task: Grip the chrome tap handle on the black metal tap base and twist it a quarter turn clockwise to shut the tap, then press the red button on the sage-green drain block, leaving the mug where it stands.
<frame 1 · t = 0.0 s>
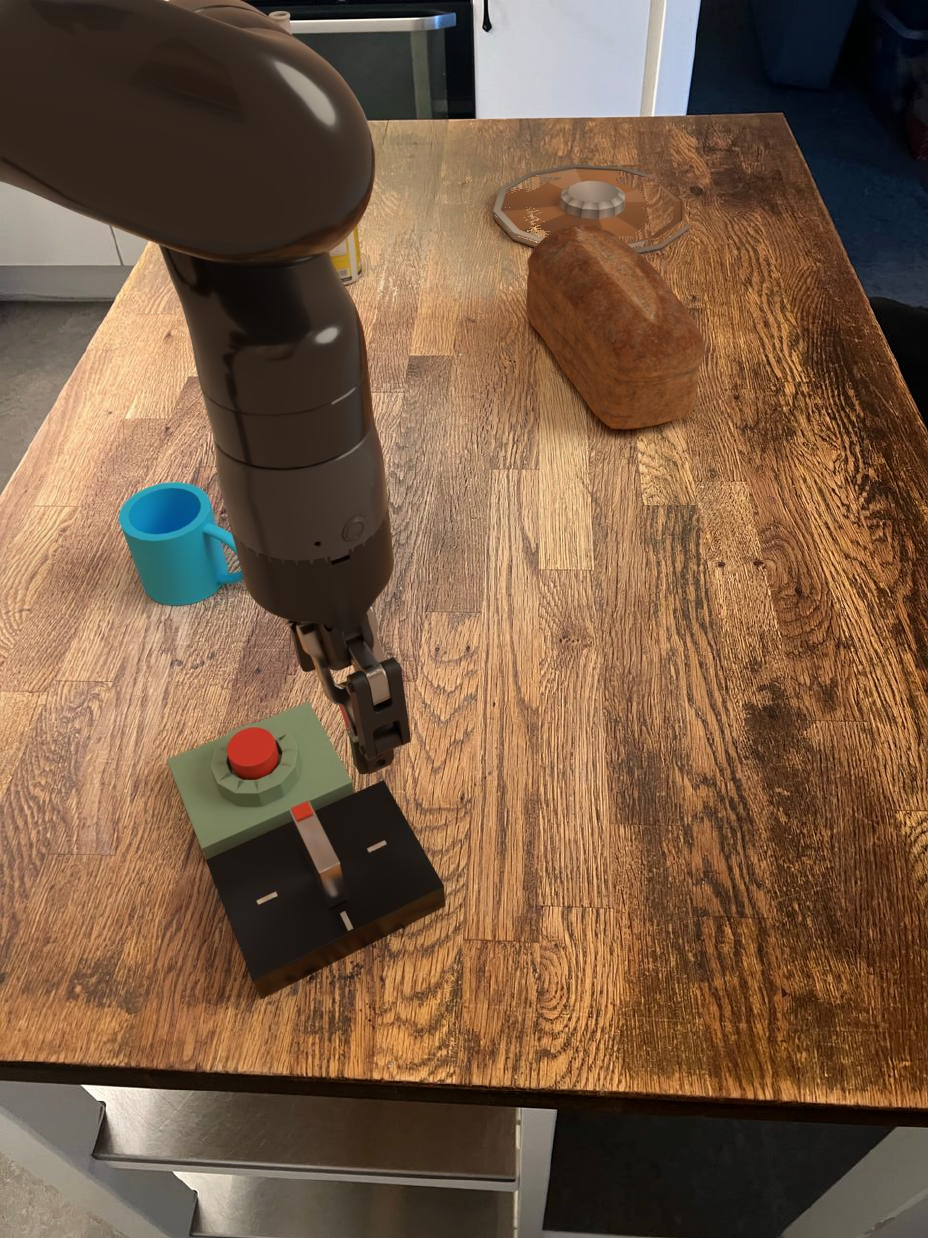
hand: (345, 712, 57), 19 cm above the kitchen island, tool pointing down, fingers open, 8 cm apart
bread: (603, 367, 116), on the kitchen island
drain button: (253, 753, 73), point 4 cm above the kitchen island, slide at 0.1 cm
mug: (203, 581, 92), on the kitchen island
pill bottle: (339, 277, 133), on the kitchen island
tap base: (328, 893, 70), on the kitchen island
shield: (591, 214, 145), on the kitchen island
bottle: (309, 229, 143), on the kitchen island
drain block: (263, 786, 76), on the kitchen island
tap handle: (318, 853, 65), point 6 cm above the kitchen island, hinge at 90.0°
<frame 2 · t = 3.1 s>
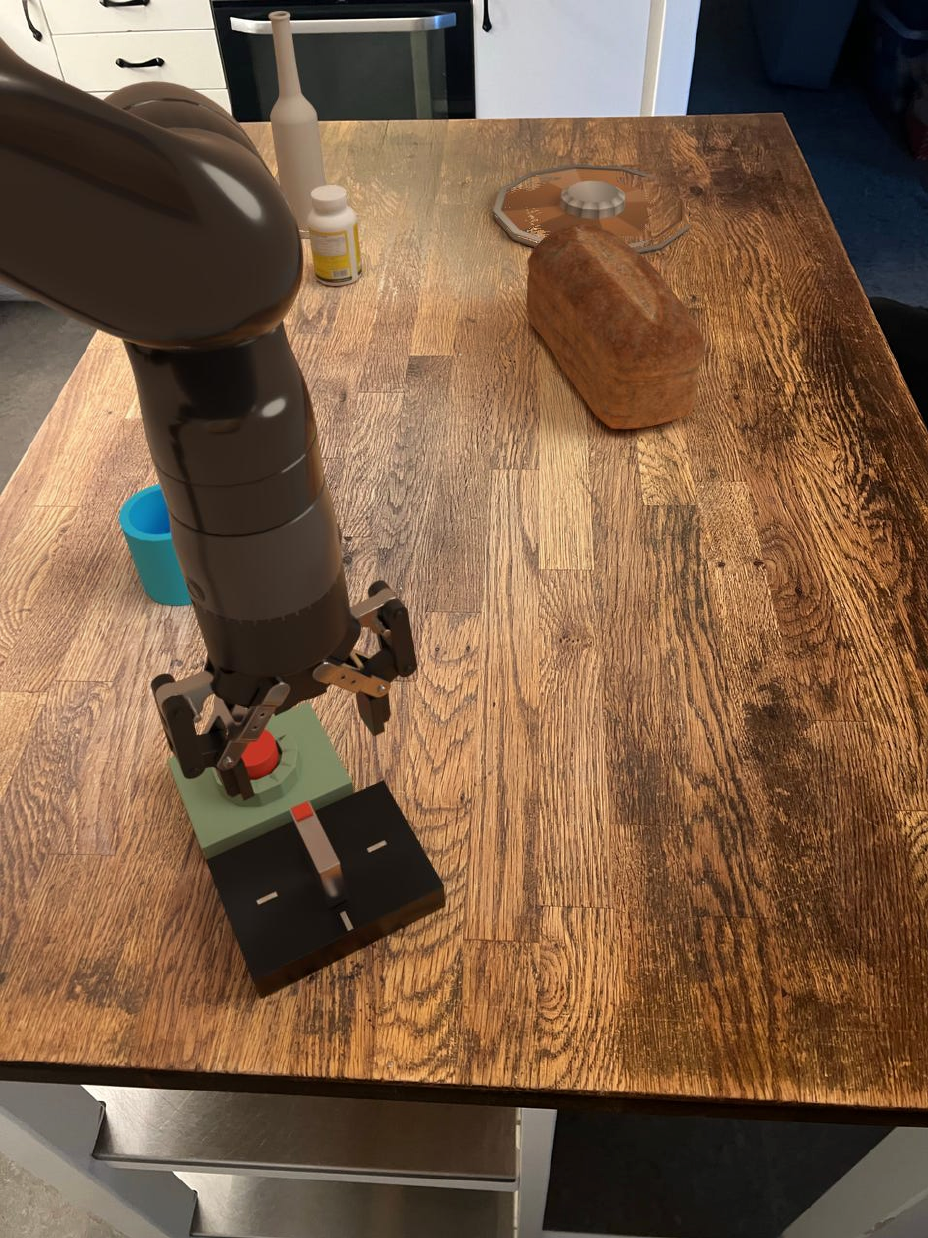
hand: (308, 755, 58), 17 cm above the kitchen island, tool pointing down, fingers open, 8 cm apart
nothing on the kitchen island moved.
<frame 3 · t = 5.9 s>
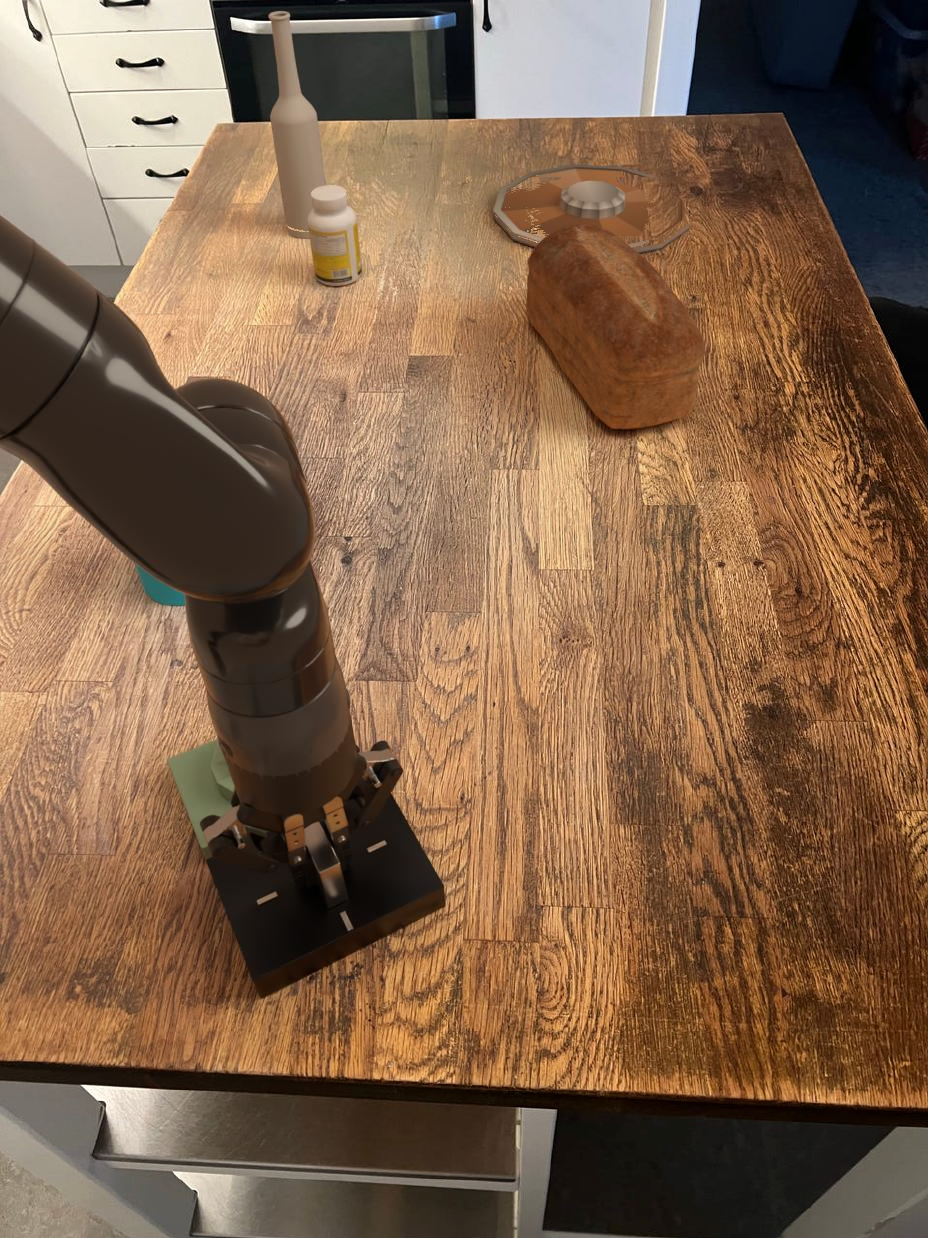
hand: (321, 868, 67), 4 cm above the kitchen island, tool pointing down, fingers closed
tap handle: (318, 853, 65), point 6 cm above the kitchen island, hinge at 90.0°, touching gripper
everything else where it was.
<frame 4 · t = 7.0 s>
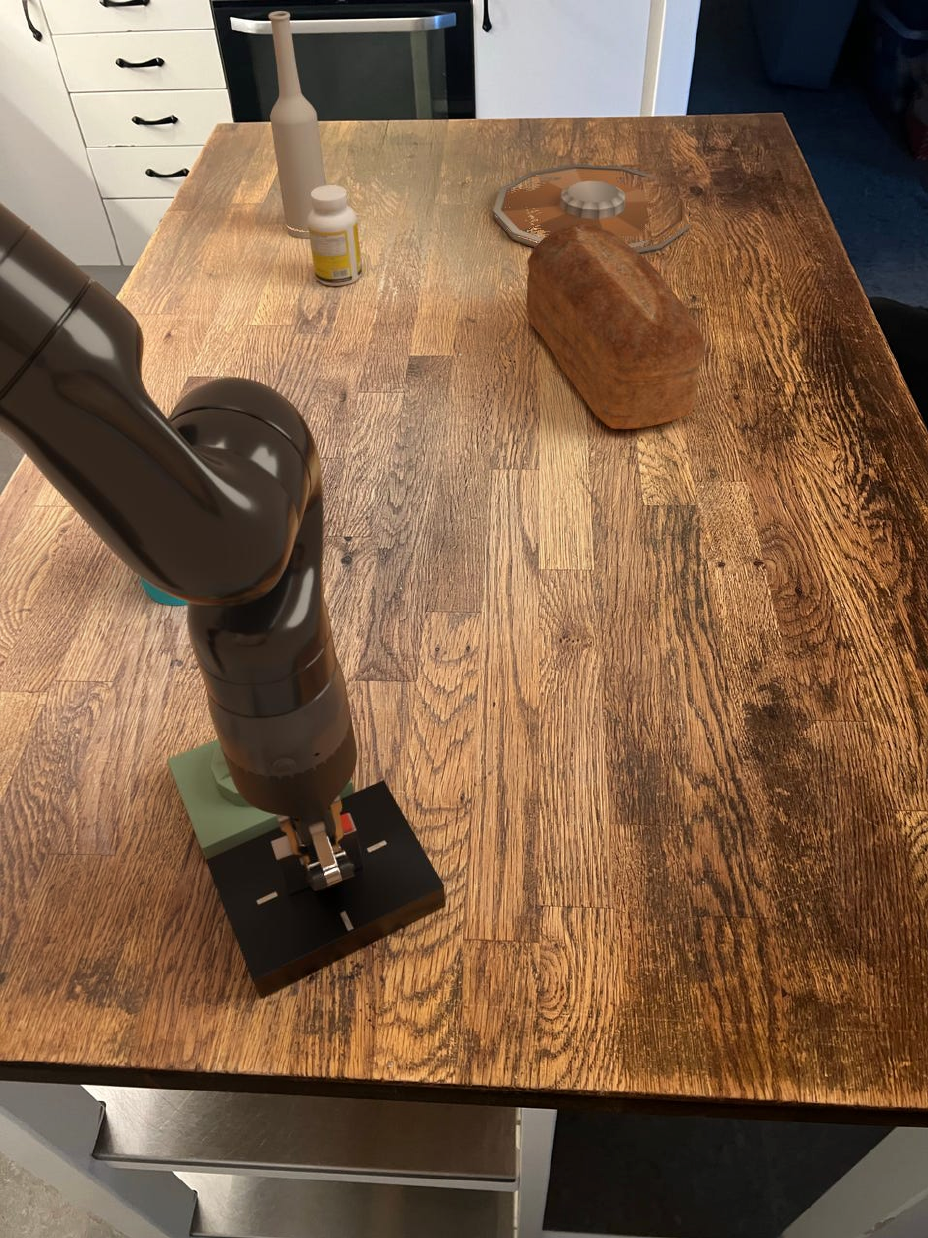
hand: (321, 867, 67), 4 cm above the kitchen island, tool pointing down, fingers closed on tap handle
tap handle: (318, 853, 65), point 6 cm above the kitchen island, hinge at -5.2°, touching gripper
everything else where it was.
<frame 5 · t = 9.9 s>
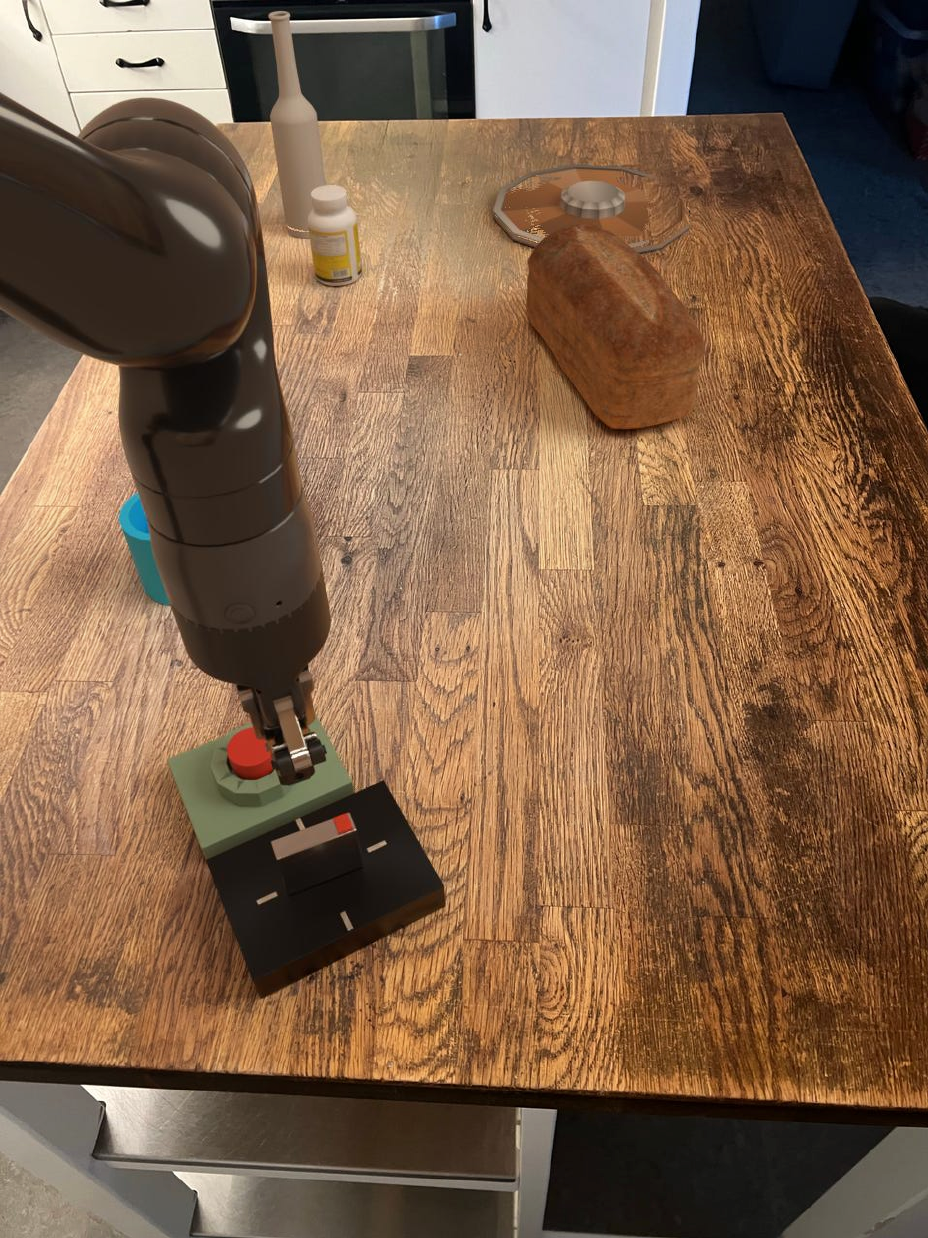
hand: (295, 771, 59), 15 cm above the kitchen island, tool pointing down, fingers closed
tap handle: (318, 853, 65), point 6 cm above the kitchen island, hinge at -4.9°
everything else where it was.
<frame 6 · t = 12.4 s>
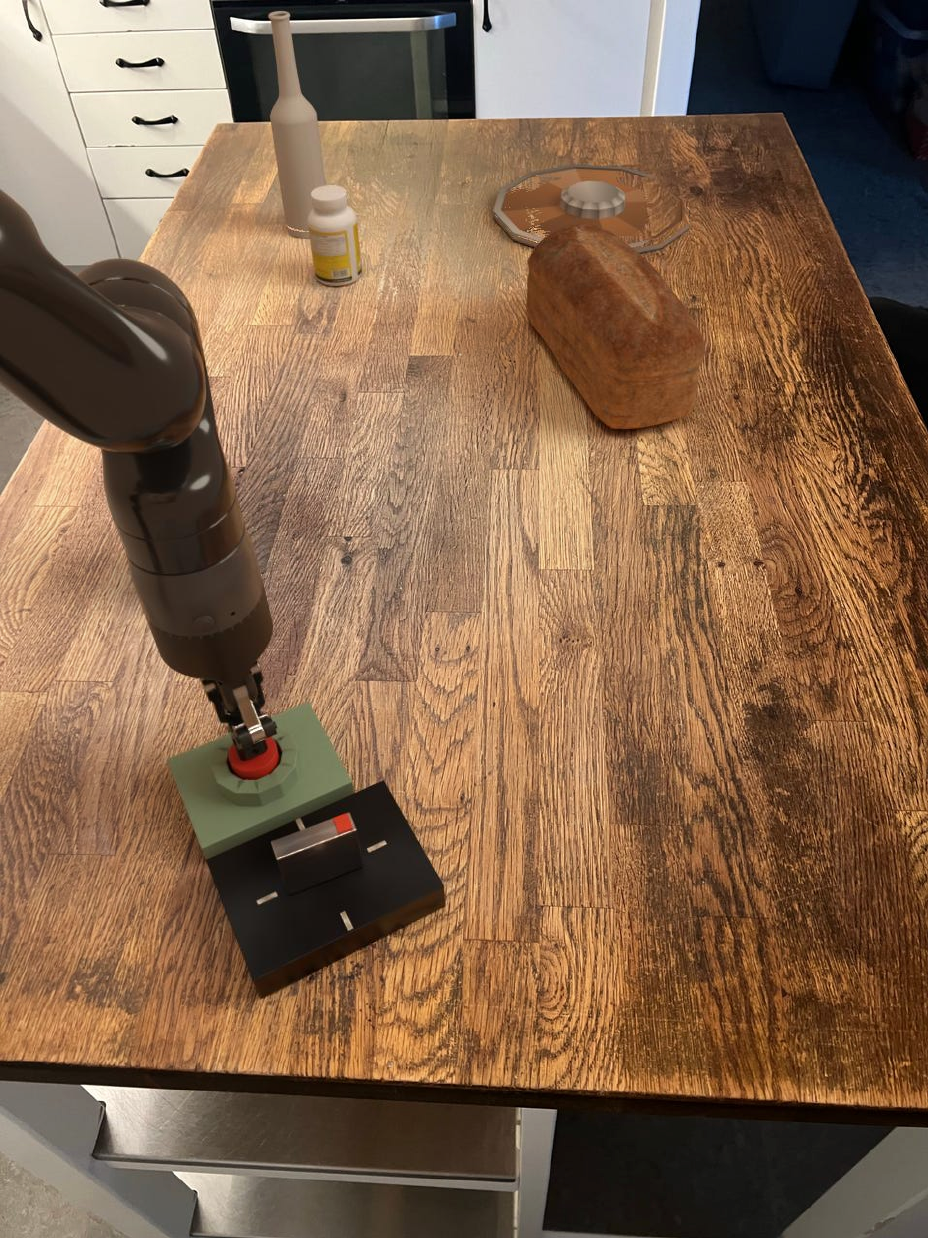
hand: (251, 749, 73), 5 cm above the kitchen island, tool pointing down, fingers closed
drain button: (254, 758, 73), point 4 cm above the kitchen island, slide at -0.5 cm, touching gripper
everything else where it was.
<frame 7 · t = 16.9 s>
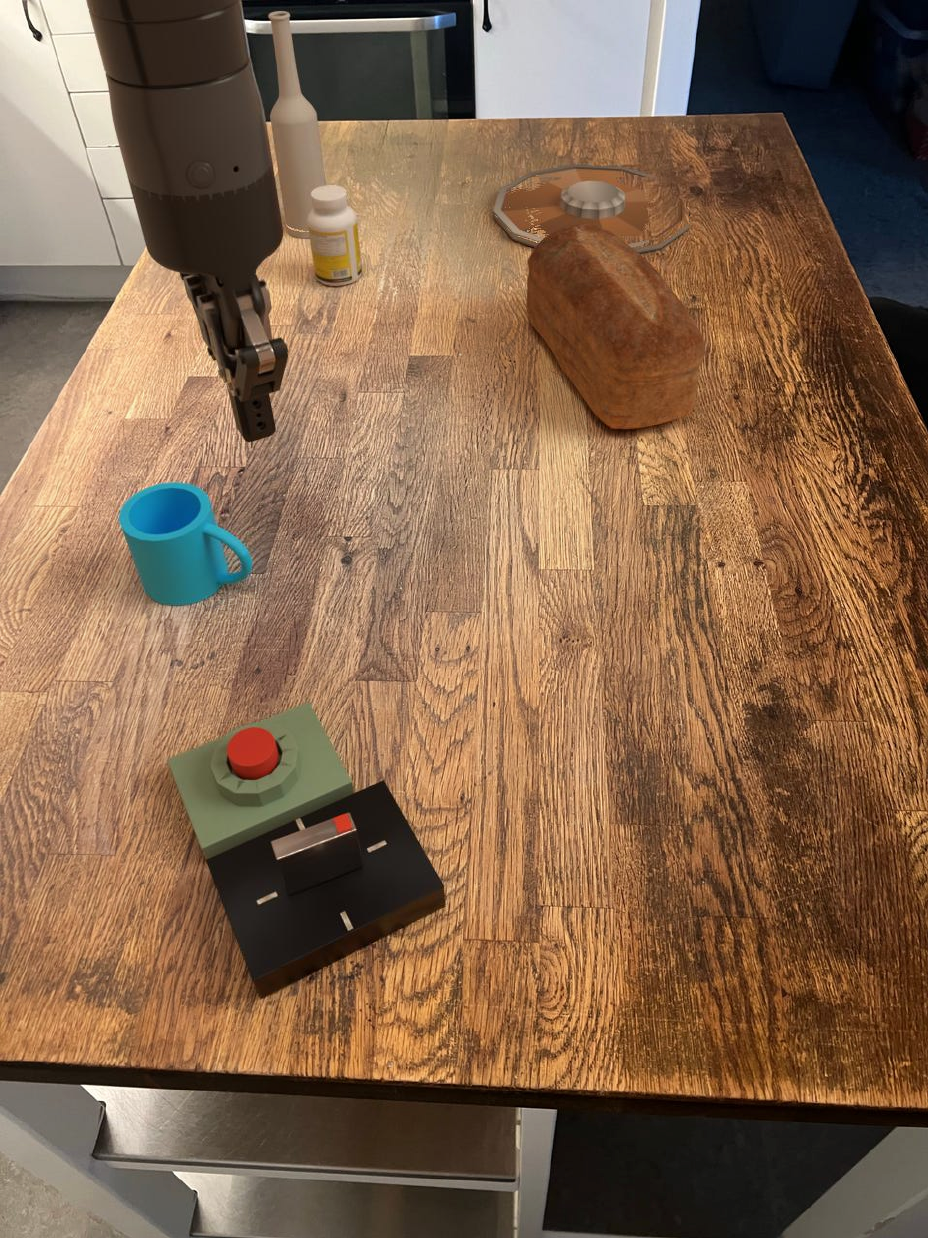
hand: (257, 432, 63), 27 cm above the kitchen island, tool pointing down, fingers closed
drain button: (253, 753, 73), point 4 cm above the kitchen island, slide at 0.1 cm
everything else where it was.
at the end: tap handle at -5° (first picture: +90°); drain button pushed in 1.1 cm at the most during the clip, back to where it started at the end; mug moved 0.2 cm from its start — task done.
